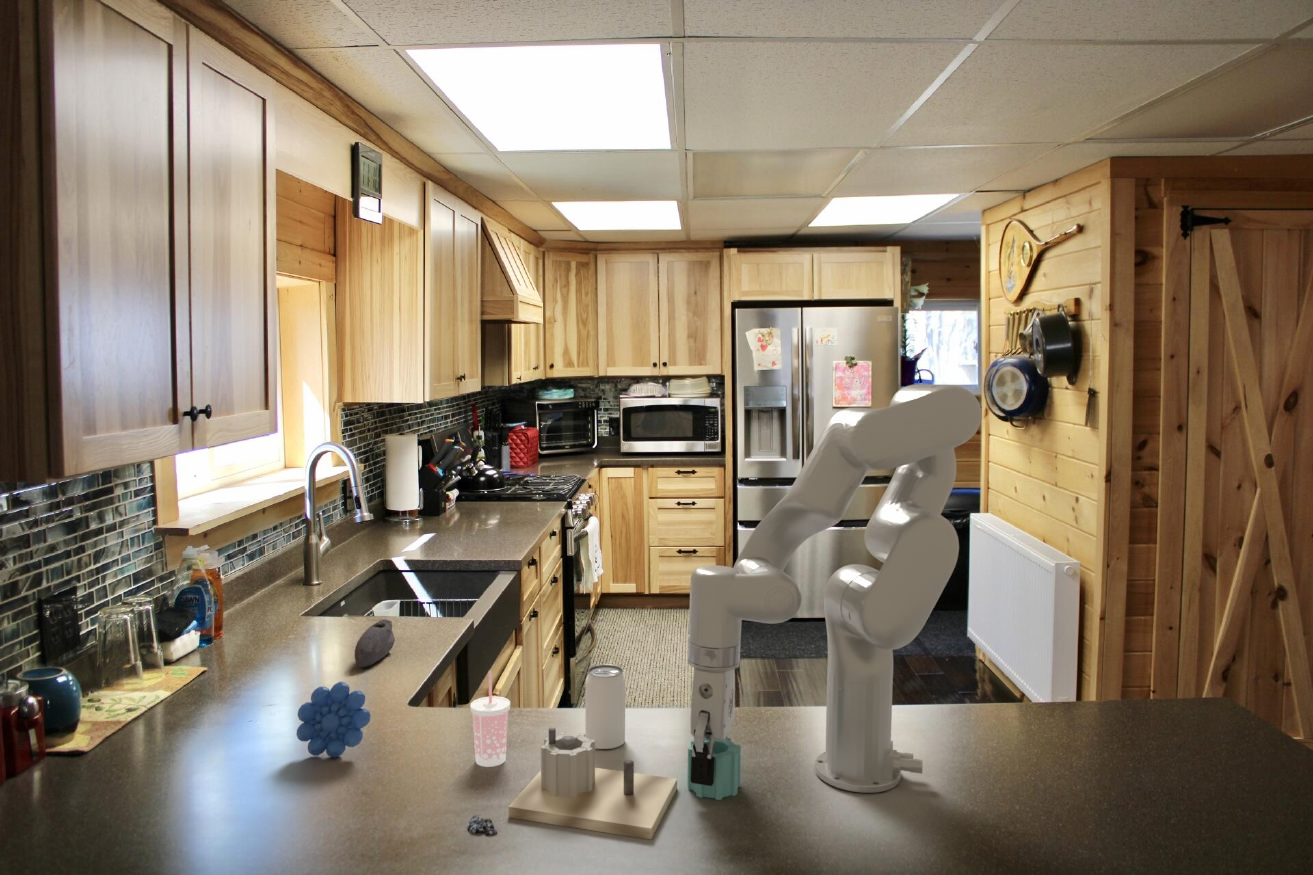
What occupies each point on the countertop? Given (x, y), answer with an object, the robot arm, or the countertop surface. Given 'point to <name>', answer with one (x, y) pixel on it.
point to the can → (605, 706)
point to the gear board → (602, 803)
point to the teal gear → (719, 771)
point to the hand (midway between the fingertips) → (709, 768)
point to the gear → (567, 764)
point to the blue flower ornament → (333, 720)
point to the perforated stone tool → (374, 643)
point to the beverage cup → (490, 728)
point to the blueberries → (481, 826)
